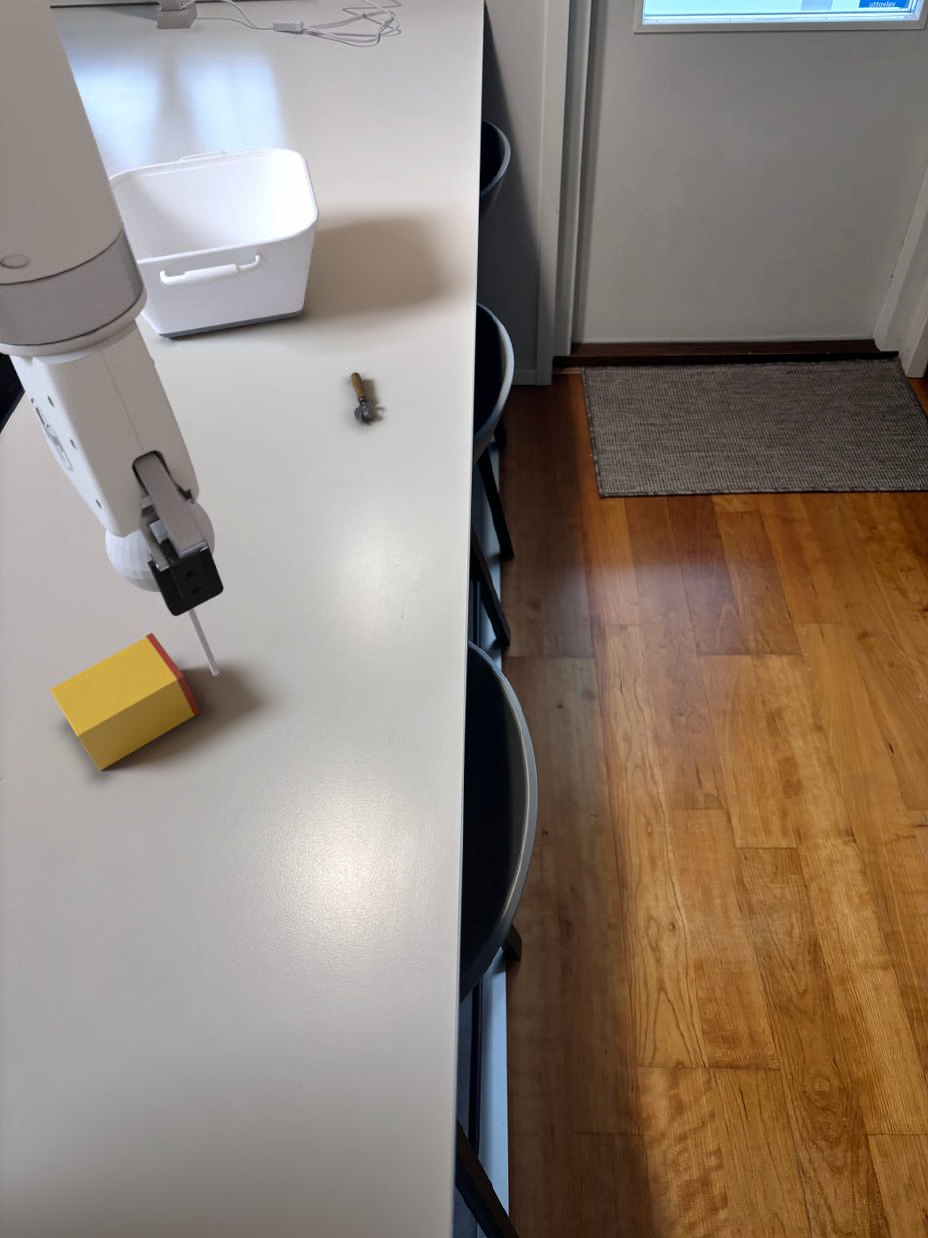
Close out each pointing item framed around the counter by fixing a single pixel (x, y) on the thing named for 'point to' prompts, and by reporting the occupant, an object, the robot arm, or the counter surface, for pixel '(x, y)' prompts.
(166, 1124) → the counter surface
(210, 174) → the tub
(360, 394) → the can opener
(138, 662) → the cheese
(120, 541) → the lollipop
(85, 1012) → the counter surface
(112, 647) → the counter surface
